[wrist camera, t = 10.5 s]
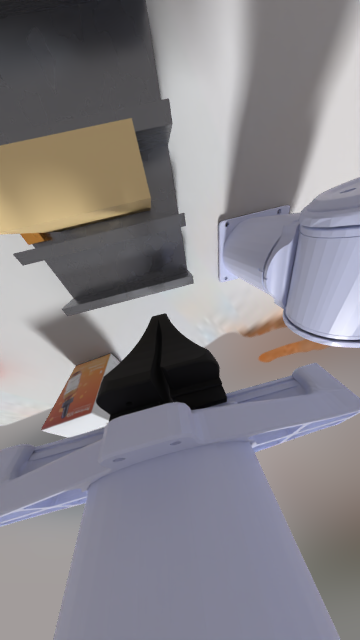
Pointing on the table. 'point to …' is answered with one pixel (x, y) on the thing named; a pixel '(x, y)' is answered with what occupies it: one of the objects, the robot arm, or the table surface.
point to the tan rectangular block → (72, 179)
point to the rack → (85, 111)
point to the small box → (81, 400)
